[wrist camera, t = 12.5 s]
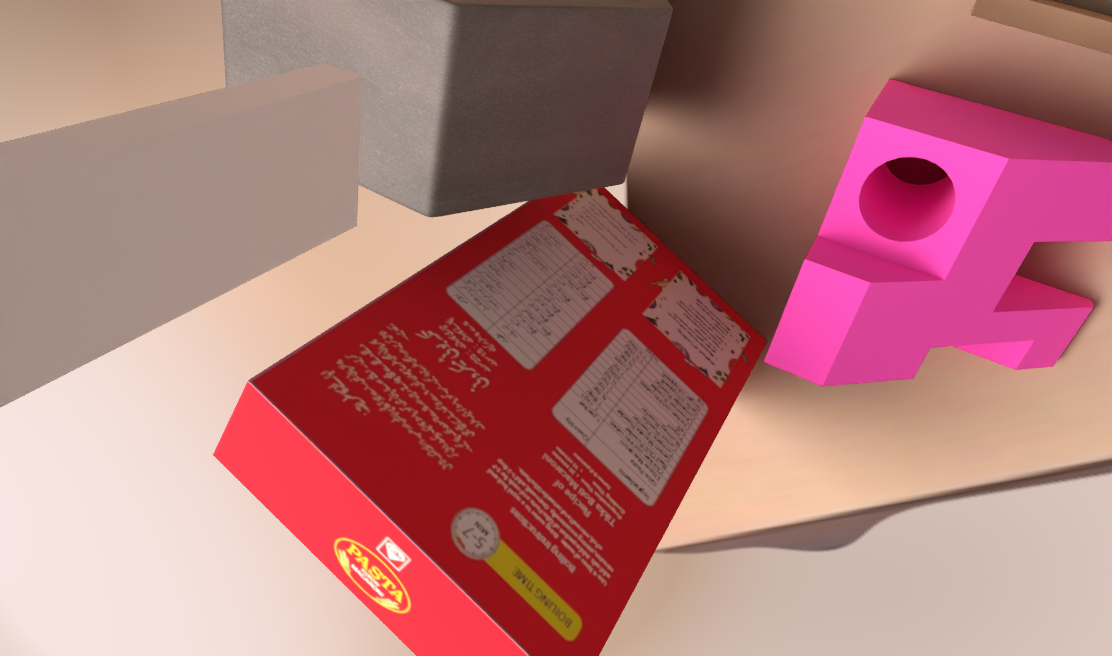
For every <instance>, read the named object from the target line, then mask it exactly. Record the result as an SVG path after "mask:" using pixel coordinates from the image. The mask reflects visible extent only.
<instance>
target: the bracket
mask: <svg viewBox="0 0 1112 656" xmlns="http://www.w3.org/2000/svg"><path fill="white" fill-rule="evenodd" d="M901 157H917V158H922V159H926V160H929V161H931V162H933V163H935V164H937V165H938V166H939V167H941V168H942V169H943V170H944V171H945V172H946V173H947V174H948V176H947V177H945V178H944V179H942V180H940V181H938V182H935V183H931V184H927V185H915V184H909V183H906V182H904V181H901V180H899V179H898V178H896V177H895V176H894V175H893V174H892V173H891V172H890V171H889V169H888V168H887V166H886V164H885V162H887V161H890V160H893V159H896V158H901ZM1071 241H1112V140H1110V139H1106V138H1103V137H1099V136H1095V135H1092V134H1088V133H1084V132H1081V131H1077V130H1074V129H1070V128H1066V127H1063V126H1059V125H1055V124H1052V123H1048V122H1044V121H1041V120H1037V119H1034V118H1030V117H1026V116H1023V115H1019V114H1015V113H1012V112H1008V111H1005V110H1001V109H997V108H994V107H990V106H986V105H983V104H979V103H976V102H972V101H968V100H965V99H961V98H957V97H954V96H950V95H946V94H943V93H939V92H936V91H932V90H928V89H925V88H921V87H917V86H914V85H910V84H907V83H903V82H899V81H896V80H892V79H889V80H888V82H887V83H886V85H885V87H884V88H883V90H882V91H881V93H880V94H879V96H878V98H877V99H876V101H875V102H874V104H873V105H872V107H871V109H870V110H869V112H868V113H867V115H866V116H865V119H864V121H863V124H862V126H861V129H860V131H859V134H858V136H857V139H856V141H855V144H854V146H853V149H852V151H851V154H850V156H849V159H848V161H847V164H846V166H845V169H844V171H843V174H842V176H841V179H840V181H839V184H838V186H837V189H836V191H835V194H834V196H833V199H832V201H831V204H830V206H829V208H828V211H827V213H826V216H825V218H824V221H823V223H822V226H821V228H820V231H819V233H818V236H817V238H816V240H815V241H814V243H813V245H812V247H811V249H810V250H809V252H808V254H807V256H806V258H805V260H804V262H803V265H802V267H801V270H800V272H799V275H798V277H797V280H796V282H795V285H794V287H793V290H792V292H791V295H790V297H789V300H788V302H787V305H786V307H785V310H784V312H783V315H782V317H781V320H780V322H779V325H778V327H777V330H776V332H775V335H774V337H773V340H772V342H771V345H770V347H769V350H768V352H767V355H766V357H765V360H764V362H765V363H767V364H769V365H772V366H774V367H777V368H779V369H782V370H784V371H786V372H789V373H791V374H794V375H796V376H799V377H801V378H803V379H806V380H808V381H811V382H813V383H816V384H818V385H820V386H831V385H843V384H855V383H866V382H878V381H890V380H901V379H913V378H914V376H915V375H916V373H917V371H918V369H919V367H920V365H921V364H922V362H923V360H924V358H925V356H926V355H927V353H928V351H929V349H930V348H931V347H946V346H954V347H956V348H959V349H962V350H964V351H967V352H970V353H972V354H975V355H978V356H980V357H983V358H986V359H988V360H991V361H994V362H996V363H999V364H1002V365H1004V366H1007V367H1010V368H1012V369H1015V370H1018V369H1030V368H1041V367H1053V366H1054V365H1055V363H1056V362H1057V360H1058V359H1059V357H1060V356H1061V354H1062V353H1063V351H1064V350H1065V348H1066V347H1067V346H1068V344H1069V343H1070V341H1071V340H1072V338H1073V337H1074V335H1075V334H1076V332H1077V331H1078V329H1079V328H1080V326H1081V325H1082V324H1083V322H1084V321H1085V319H1086V318H1087V316H1088V315H1089V313H1090V312H1091V310H1092V309H1093V302H1092V300H1089V299H1086V298H1083V297H1080V296H1078V295H1075V294H1072V293H1069V292H1066V291H1063V290H1060V289H1057V288H1054V287H1051V286H1048V285H1045V284H1042V283H1039V282H1036V281H1033V280H1030V279H1027V278H1024V277H1021V276H1018V275H1015V274H1016V272H1017V270H1018V268H1019V267H1020V265H1021V263H1022V262H1023V260H1024V258H1025V257H1026V255H1027V253H1028V252H1029V250H1030V248H1031V246H1032V245H1033V243H1034V242H1071Z"/></svg>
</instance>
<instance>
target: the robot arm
mask: <svg viewBox="0 0 1112 656" xmlns="http://www.w3.org/2000/svg"><path fill="white" fill-rule="evenodd" d="M361 93H362V77H360V76H358V75H355V74H353V73H350V72H347V71H345V70H342V69H340V68H337V67H335V66H332V65H330V64H327V63H323V64H319V65H315V66H311V67H306V68H302V69H298V70H294V71H290V72H286V73H282V74H278V75H274V76H270V77H266V78H262V79H258V80H254V81H250V82H246V83H242V84H238V85H233V86H229V87H226V88H221V89H217V90H213V91H209V92H205V93H201V94H197V95H193V96H189V97H185V98H181V99H177V100H173V101H169V102H165V103H160V104H157V105H152V106H149V107H144V108H140V109H136V110H132V111H128V112H124V113H120V114H116V115H112V116H108V117H104V118H100V119H96V120H91V121H87V122H84V123H80V124H75V125H71V126H67V127H63V128H59V129H55V130H51V131H47V132H43V133H39V134H35V135H31V136H27V137H22V138H18V139H15V140H10V141H6V142H2V143H0V407H2V406H4V405H6V404H8V403H10V402H12V401H14V400H16V399H18V398H20V397H22V396H24V395H25V394H27V393H30V392H31V391H33V390H35V389H37V388H39V387H41V386H43V385H45V384H47V383H49V382H51V381H53V380H55V379H57V378H59V377H61V376H63V375H65V374H67V373H69V372H71V371H73V370H75V369H77V368H78V367H81V366H82V365H85V364H86V363H88V362H90V361H92V360H94V359H96V358H98V357H100V356H102V355H104V354H106V353H108V352H110V351H112V350H114V349H116V348H118V347H120V346H122V345H124V344H126V343H128V342H130V341H132V340H134V339H136V338H137V337H140V336H141V335H143V334H145V333H147V332H149V331H151V330H153V329H155V328H157V327H159V326H161V325H163V324H165V323H167V322H169V321H171V320H173V319H175V318H177V317H179V316H181V315H183V314H185V313H187V312H189V311H191V310H193V309H195V308H197V307H198V306H200V305H202V304H204V303H206V302H208V301H210V300H212V299H214V298H216V297H218V296H220V295H222V294H224V293H226V292H228V291H230V290H232V289H233V288H236V287H238V286H240V285H241V284H244V283H246V282H247V281H250V280H251V279H253V278H255V277H257V276H259V275H261V274H263V273H265V272H267V271H269V270H271V269H273V268H275V267H277V266H279V265H281V264H283V263H285V262H286V261H289V260H291V259H293V258H295V257H296V256H299V255H300V254H303V253H305V252H306V251H308V250H310V249H312V248H314V247H316V246H318V245H320V244H322V243H324V242H326V241H328V240H330V239H332V238H334V237H336V236H338V235H340V234H342V233H344V232H346V231H348V230H350V229H352V228H354V227H355V226H357V209H358V207H357V206H358V180H359V151H360V122H361Z"/></svg>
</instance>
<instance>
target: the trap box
mask: <svg viewBox="0 0 1112 656" xmlns="http://www.w3.org/2000/svg"><path fill="white" fill-rule="evenodd" d="M971 15H972V16H976V17H980V18H983V19H987V20H990V21H994V22H997V23H1001V24H1005V25H1008V26H1012V27H1015V28H1019V29H1023V30H1026V31H1030V32H1033V33H1037V34H1041V35H1044V36H1048V37H1051V38H1055V39H1058V40H1062V41H1066V42H1069V43H1073V44H1076V45H1080V46H1084V47H1087V48H1091V49H1094V50H1098V51H1101V52H1105V53H1109V54H1112V16H1110V15H1106V14H1102V13H1098V12H1095V11H1091V10H1087V9H1083V8H1080V7H1076V6H1072V5H1068V4H1065V3H1061V2H1057V1H1053V0H977V1H976V3H975V5H974V7H973V10H972V13H971Z"/></svg>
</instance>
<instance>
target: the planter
mask: <svg viewBox="0 0 1112 656" xmlns="http://www.w3.org/2000/svg"><path fill="white" fill-rule="evenodd" d="M221 6H222V22H223V23H222V24H223V40H224V60H225V77H226V87H229V86H233V85H238V84H242V83H246V82H250V81H254V80H258V79H262V78H266V77H270V76H274V75H278V74H282V73H286V72H290V71H294V70H298V69H302V68H306V67H311V66H315V65H319V64H323V63H327V64H330V65H332V66H335V67H337V68H340V69H342V70H345V71H347V72H350V73H353V74H355V75H358V76H360V77H362V93H361V122H360V151H359V180H358V185H361V186H363V187H365V188H367V189H369V190H371V191H373V192H376V193H378V194H380V195H382V196H384V197H386V198H388V199H390V200H393V201H394V202H397V203H399V204H401V205H403V206H405V207H407V208H409V209H412V210H414V211H416V212H418V213H420V214H422V215H425V216H428V217H439V216H445V215H450V214H455V213H461V212H467V211H473V210H479V209H484V208H490V207H496V206H501V205H507V204H512V203H518V202H523V201H529V200H535V199H541V198H546V197H552V196H558V195H563V194H569V193H574V192H580V191H586V190H591V189H597V188H603V187H608V186H613V185H619V184H622V183H624V181H625V178H626V174H627V171H628V167H629V164H630V160H631V157H632V153H633V150H634V146H635V143H636V139H637V136H638V132H639V129H640V125H641V122H642V118H643V115H644V111H645V108H646V104H647V100H648V97H649V93H650V90H651V86H652V83H653V79H654V76H655V72H656V69H657V65H658V62H659V58H660V55H661V51H662V48H663V44H664V41H665V37H666V34H667V30H668V27H669V23H670V20H671V16H672V12H673V8H672V6H671V5H670V3H669V2H668V1H667V0H221Z"/></svg>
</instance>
